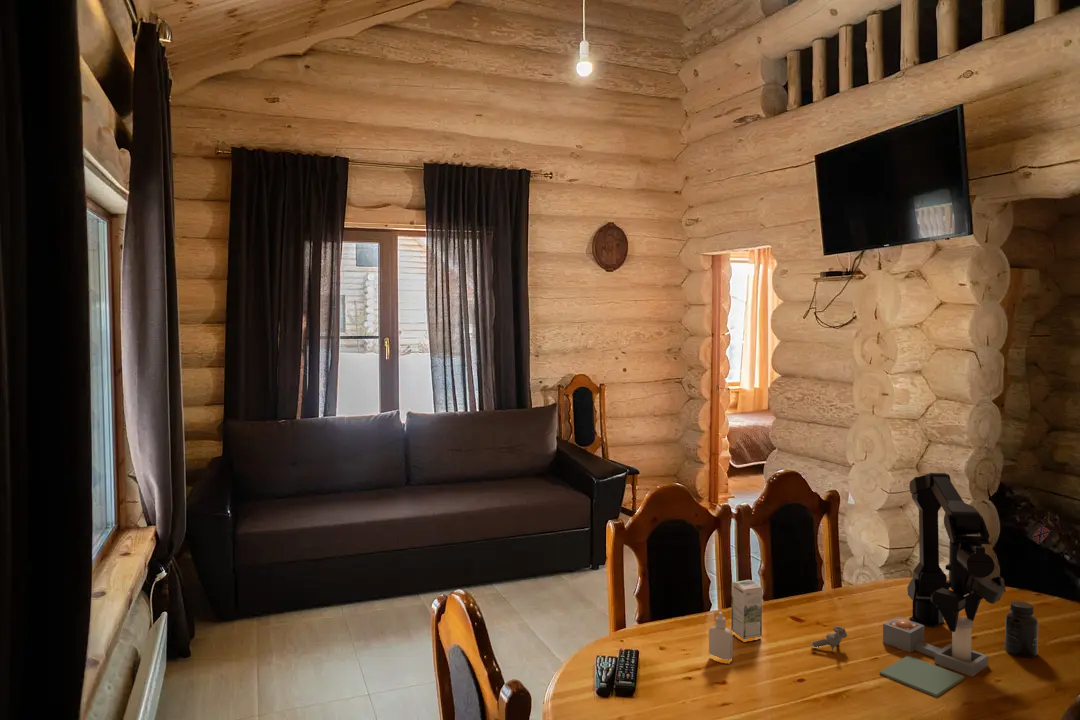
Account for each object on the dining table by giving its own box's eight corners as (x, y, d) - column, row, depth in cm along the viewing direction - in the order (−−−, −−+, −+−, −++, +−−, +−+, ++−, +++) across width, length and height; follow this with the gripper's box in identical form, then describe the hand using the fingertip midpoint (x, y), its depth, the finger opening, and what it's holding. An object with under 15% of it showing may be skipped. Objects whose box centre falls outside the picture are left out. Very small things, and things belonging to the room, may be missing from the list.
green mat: (879, 674, 171) (879, 671, 171) (907, 657, 179) (907, 655, 179) (936, 697, 161) (936, 694, 161) (964, 678, 168) (964, 676, 168)
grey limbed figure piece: (807, 640, 190) (841, 628, 189) (818, 663, 186) (852, 651, 185) (806, 628, 182) (841, 617, 181) (817, 652, 178) (853, 640, 177)
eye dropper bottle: (721, 653, 183) (721, 607, 182) (735, 663, 178) (734, 615, 177) (706, 656, 181) (706, 609, 181) (719, 667, 176) (719, 618, 175)
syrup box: (749, 631, 195) (749, 578, 194) (762, 640, 190) (762, 586, 189) (730, 634, 193) (730, 581, 193) (743, 644, 188) (743, 589, 187)
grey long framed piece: (881, 643, 187) (881, 624, 186) (898, 634, 191) (898, 615, 191) (971, 676, 169) (972, 655, 169) (988, 665, 174) (988, 645, 174)
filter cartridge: (946, 663, 175) (947, 620, 175) (955, 658, 178) (956, 615, 177) (967, 671, 172) (967, 626, 171) (975, 665, 174) (976, 621, 174)
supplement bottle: (1042, 659, 177) (1044, 611, 176) (1011, 657, 178) (1012, 609, 177) (1030, 646, 183) (1031, 599, 182) (999, 644, 185) (1000, 598, 184)
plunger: (890, 642, 187) (890, 621, 186) (899, 638, 189) (899, 617, 189) (907, 649, 183) (907, 627, 183) (916, 644, 186) (916, 622, 185)
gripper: (981, 581, 161) (980, 649, 162) (1017, 562, 172) (1015, 626, 173) (930, 567, 170) (929, 632, 171) (967, 550, 181) (966, 611, 182)
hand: (961, 626), depth 174 cm, fingers open, 9 cm apart
